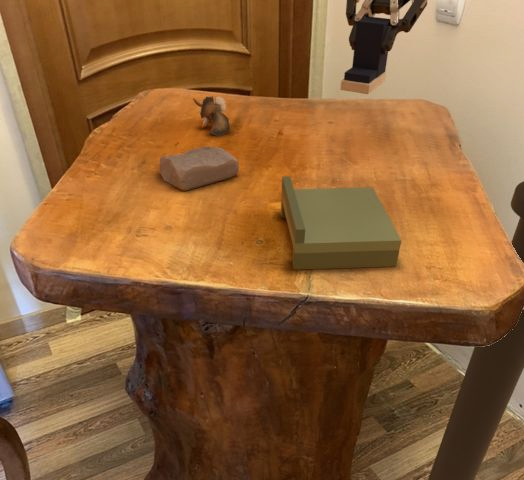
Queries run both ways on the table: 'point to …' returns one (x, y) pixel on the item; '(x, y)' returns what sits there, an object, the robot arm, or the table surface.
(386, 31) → the robot arm
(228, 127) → the brown animal figurine
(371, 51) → the high-top shoe
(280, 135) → the table surface
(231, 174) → the stone block
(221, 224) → the table surface
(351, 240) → the green flanged plate
